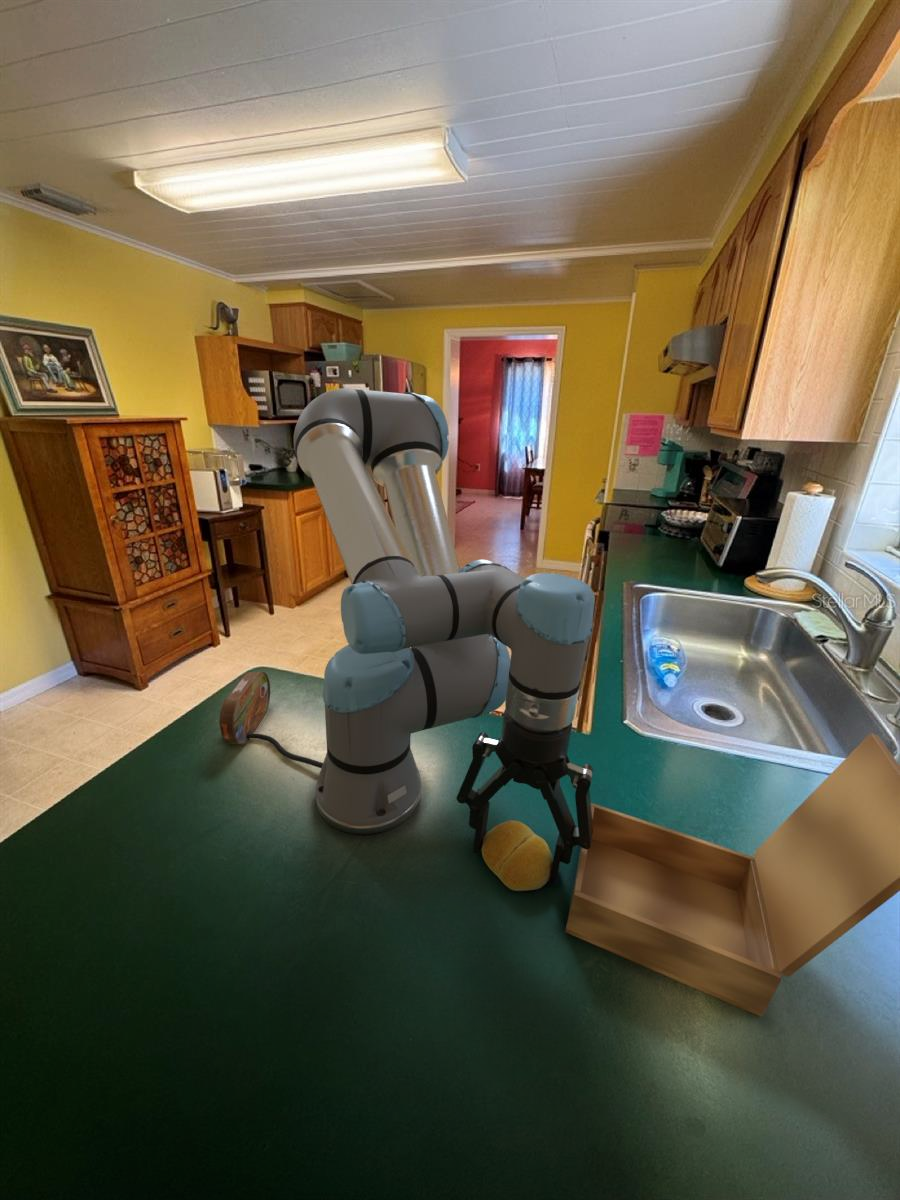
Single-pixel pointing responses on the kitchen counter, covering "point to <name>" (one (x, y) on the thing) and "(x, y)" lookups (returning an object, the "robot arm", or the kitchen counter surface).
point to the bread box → (676, 908)
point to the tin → (244, 707)
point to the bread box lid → (833, 856)
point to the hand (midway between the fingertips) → (515, 860)
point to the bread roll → (517, 856)
